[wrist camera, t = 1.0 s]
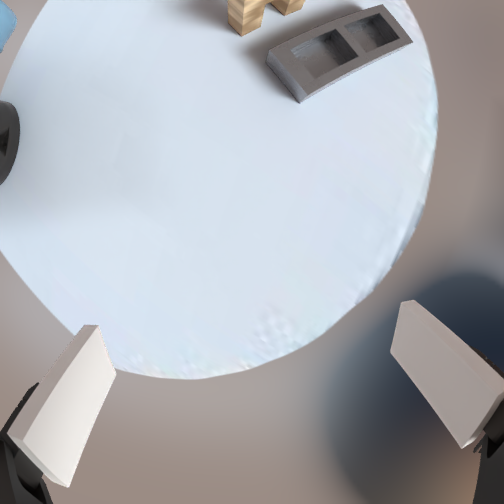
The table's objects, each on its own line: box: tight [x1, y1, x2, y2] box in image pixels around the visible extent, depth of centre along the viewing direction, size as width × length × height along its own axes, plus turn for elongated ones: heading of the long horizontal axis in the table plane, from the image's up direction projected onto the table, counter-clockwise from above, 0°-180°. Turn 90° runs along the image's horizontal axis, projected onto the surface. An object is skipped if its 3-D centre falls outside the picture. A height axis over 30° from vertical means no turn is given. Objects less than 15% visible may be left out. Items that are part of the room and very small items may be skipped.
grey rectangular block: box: [266, 4, 413, 103], centre depth 26 cm, size 20×7×4 cm, turn 127°
